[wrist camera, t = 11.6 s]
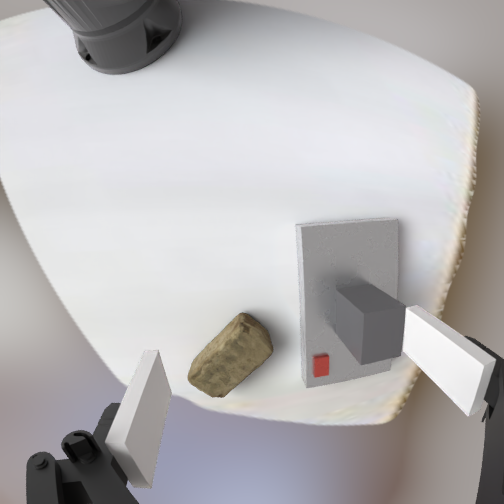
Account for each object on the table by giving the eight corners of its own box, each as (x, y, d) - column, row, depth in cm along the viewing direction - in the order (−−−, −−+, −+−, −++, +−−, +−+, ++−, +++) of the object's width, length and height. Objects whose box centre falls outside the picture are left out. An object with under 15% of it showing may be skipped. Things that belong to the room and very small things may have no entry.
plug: (328, 283, 40) (363, 313, 28) (362, 278, 40) (405, 305, 29) (329, 324, 41) (360, 365, 30) (361, 319, 41) (400, 355, 30)
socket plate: (295, 224, 38) (302, 227, 35) (387, 217, 39) (400, 219, 35) (301, 377, 42) (307, 390, 39) (381, 361, 43) (391, 372, 39)
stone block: (187, 363, 41) (183, 382, 36) (241, 306, 40) (243, 320, 35) (219, 385, 42) (218, 406, 37) (274, 332, 41) (280, 348, 36)
